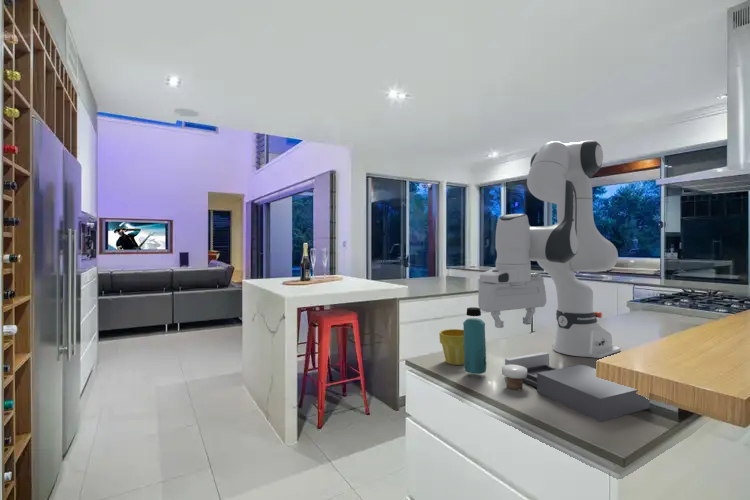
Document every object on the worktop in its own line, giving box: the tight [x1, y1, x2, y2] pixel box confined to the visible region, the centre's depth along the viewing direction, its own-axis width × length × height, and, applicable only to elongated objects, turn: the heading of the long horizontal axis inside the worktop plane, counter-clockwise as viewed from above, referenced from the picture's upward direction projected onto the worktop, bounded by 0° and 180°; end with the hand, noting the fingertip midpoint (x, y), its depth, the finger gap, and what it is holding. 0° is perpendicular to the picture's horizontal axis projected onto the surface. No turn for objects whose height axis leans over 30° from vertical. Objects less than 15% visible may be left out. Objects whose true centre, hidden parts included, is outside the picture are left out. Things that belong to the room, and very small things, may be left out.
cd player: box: [536, 363, 651, 422], centre depth 95 cm, size 18×16×5 cm
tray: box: [504, 351, 557, 388], centre depth 106 cm, size 18×15×5 cm
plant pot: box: [439, 328, 464, 366], centre depth 126 cm, size 10×10×10 cm
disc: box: [501, 364, 527, 379], centre depth 104 cm, size 6×6×2 cm
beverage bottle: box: [462, 306, 488, 375], centre depth 113 cm, size 6×7×20 cm
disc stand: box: [506, 377, 524, 391], centre depth 104 cm, size 4×4×4 cm
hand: (513, 325), depth 103 cm, fingers open, 8 cm apart
